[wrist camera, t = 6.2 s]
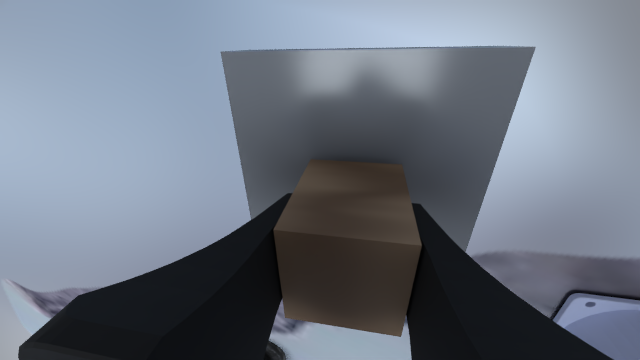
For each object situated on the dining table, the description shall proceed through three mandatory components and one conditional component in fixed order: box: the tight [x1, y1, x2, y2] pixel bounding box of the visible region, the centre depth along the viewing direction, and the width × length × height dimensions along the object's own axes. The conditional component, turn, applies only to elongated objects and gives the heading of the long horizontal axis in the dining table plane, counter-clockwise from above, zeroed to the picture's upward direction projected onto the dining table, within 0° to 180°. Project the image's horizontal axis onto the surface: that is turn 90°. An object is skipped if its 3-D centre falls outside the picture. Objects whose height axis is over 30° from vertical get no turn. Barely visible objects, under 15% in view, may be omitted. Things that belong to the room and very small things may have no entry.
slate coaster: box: [221, 46, 535, 252], centre depth 14 cm, size 12×12×2 cm
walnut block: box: [273, 159, 422, 337], centre depth 10 cm, size 4×4×5 cm
